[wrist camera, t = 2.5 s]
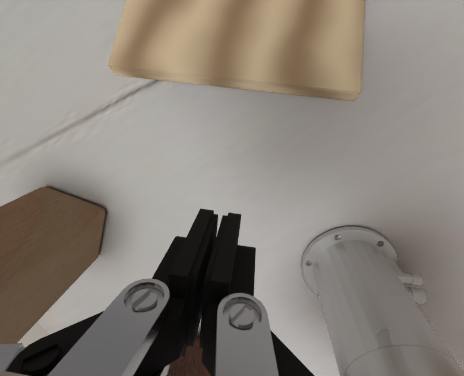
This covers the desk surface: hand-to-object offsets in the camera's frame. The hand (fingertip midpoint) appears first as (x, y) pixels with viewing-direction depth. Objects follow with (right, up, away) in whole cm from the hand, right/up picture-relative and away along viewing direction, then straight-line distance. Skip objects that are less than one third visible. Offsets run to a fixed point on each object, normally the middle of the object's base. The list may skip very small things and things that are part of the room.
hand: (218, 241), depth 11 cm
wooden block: (-24, -3, +28) cm, 37 cm away
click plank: (+1, +16, +13) cm, 21 cm away
